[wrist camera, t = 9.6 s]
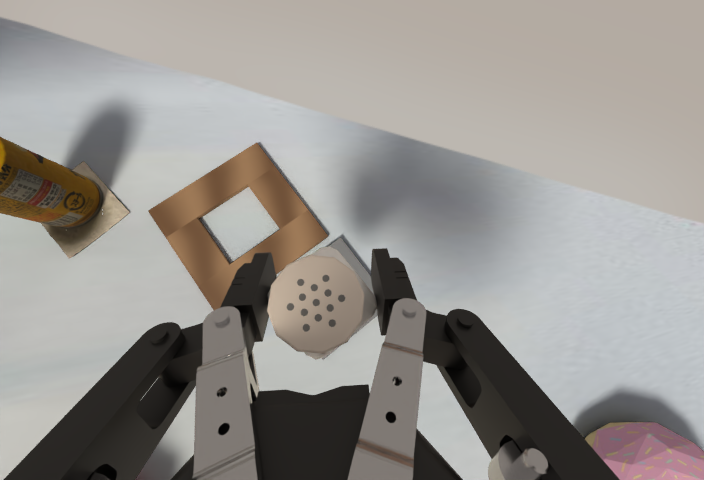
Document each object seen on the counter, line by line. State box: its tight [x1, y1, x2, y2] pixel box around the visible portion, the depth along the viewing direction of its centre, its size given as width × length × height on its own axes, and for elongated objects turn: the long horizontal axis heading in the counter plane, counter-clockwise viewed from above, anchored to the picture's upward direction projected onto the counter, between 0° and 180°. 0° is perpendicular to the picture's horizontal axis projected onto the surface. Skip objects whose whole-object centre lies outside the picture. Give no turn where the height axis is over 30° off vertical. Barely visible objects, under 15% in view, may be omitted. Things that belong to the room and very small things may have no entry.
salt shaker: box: [267, 246, 377, 359], centre depth 13 cm, size 4×4×10 cm
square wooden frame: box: [149, 143, 328, 310], centre depth 29 cm, size 14×14×1 cm
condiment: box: [0, 137, 130, 258], centre depth 23 cm, size 7×8×12 cm
